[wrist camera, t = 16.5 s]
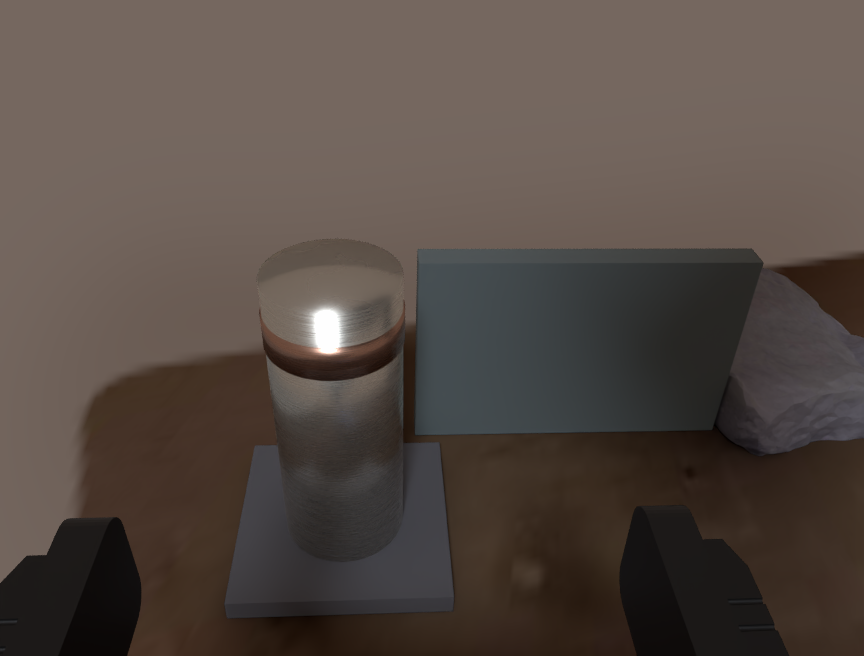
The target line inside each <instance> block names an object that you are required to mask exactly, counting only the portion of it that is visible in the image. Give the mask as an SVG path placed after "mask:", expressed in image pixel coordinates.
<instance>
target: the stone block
mask: <svg viewBox="0 0 864 656" xmlns="http://www.w3.org/2000/svg"><path fill="white" fill-rule="evenodd" d="M714 424H715V425H716V426H717V428H718V429H719V430H720V431H721V432H722V433H723V434H724V435H725V436H726V437H727V438H728V439H729V440H731V441H732V442H734V443H735V444H737V445H740V446H742V447H744V448H745V449H746V450H747V451H749V453H751V454H754V455H757V456H763V455H765V454H776V453H783V452H789V451H791V450H793V449H795V448H800V447H803V446H805V445H808V444H809V443H810V442H813V441H819V440H842V441H845V440H852V439H858V438H864V338H862V337H860V336H854V335H851V334H850V333H849V332H848V331H847V330H846V329H845V328H844V327H843V325H842V324H840V323H839V322H838V321H837V320H835V319H834V318H833V317H832V316H830V315H829V314H827V313H825V312H824V311H823V310H822V309H821V308H820V307H819V304H818V303H817V302H816V301H815V300H814V299H813V298H812V297H811V296H810V295H809V294H807V293H806V292H805V291H804V290H803V289H801V288H800V287H798V286H797V285H796V284H795V283H793V282H792V281H790V280H789V279H788V278H787V277H785V276H783V275H781V274H779V273H776V272H774V271H772V270H769V269H764V268H762V270H761V273H760V276H759V279H758V283H757V286H756V289H755V292H754V296H753V299H752V302H751V305H750V309H749V312H748V315H747V318H746V322H745V325H744V328H743V331H742V335H741V338H740V341H739V344H738V347H737V351H736V354H735V357H734V360H733V364H732V367H731V370H730V373H729V377H728V380H727V383H726V386H725V390H724V393H723V396H722V399H721V403H720V406H719V409H718V412H717V416H716V419H715V422H714Z"/></svg>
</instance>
